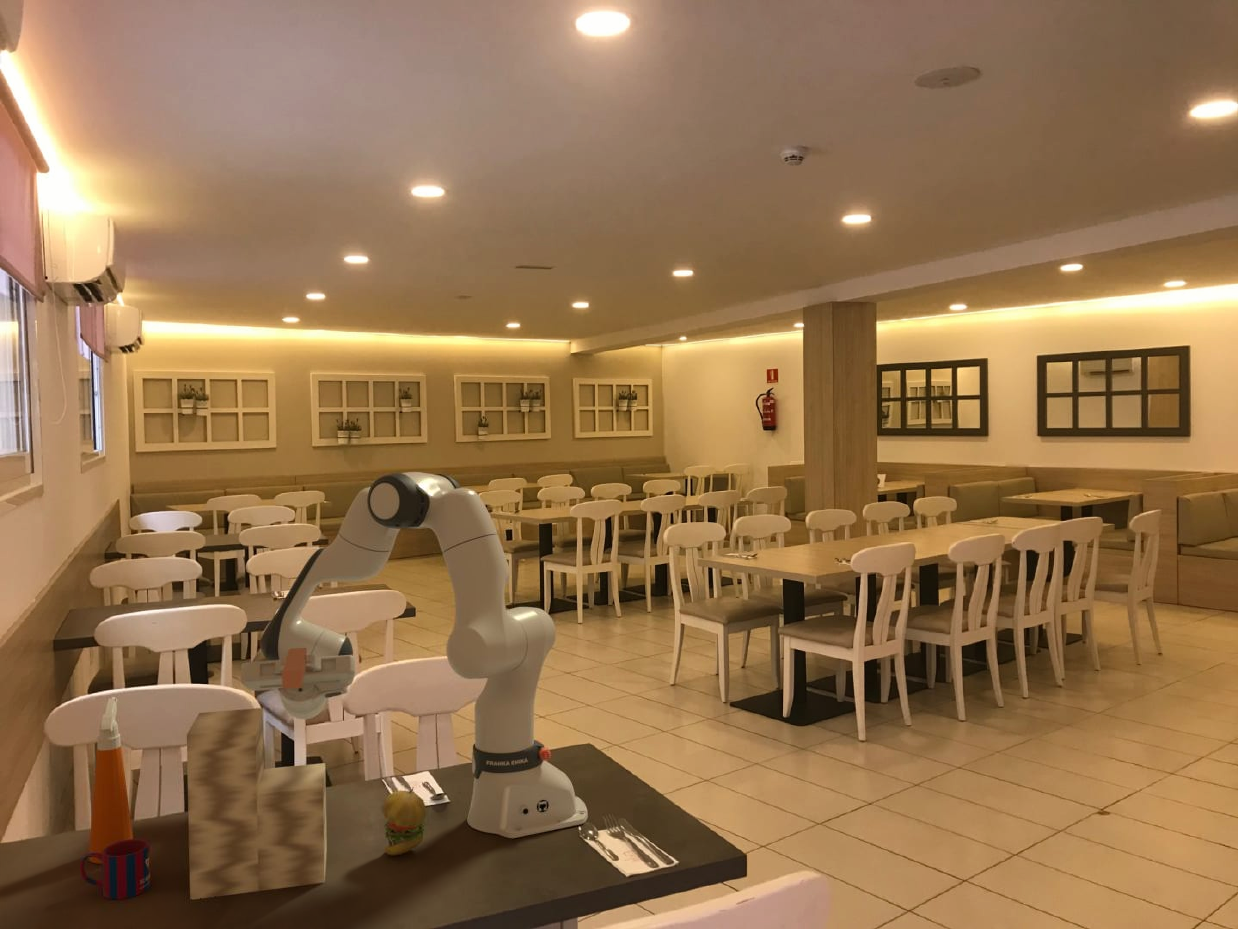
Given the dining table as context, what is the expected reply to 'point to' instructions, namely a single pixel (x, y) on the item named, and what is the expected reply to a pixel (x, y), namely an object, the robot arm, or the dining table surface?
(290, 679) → the bar
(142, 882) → the mug
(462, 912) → the dining table surface
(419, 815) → the hamburger
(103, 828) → the spray bottle
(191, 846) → the stepped stand
